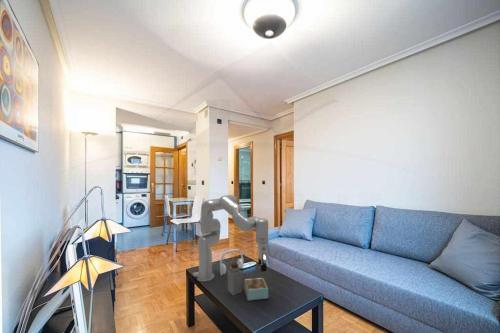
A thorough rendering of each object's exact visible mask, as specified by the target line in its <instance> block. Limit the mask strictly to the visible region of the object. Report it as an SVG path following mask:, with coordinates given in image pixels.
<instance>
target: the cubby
mask: <svg viewBox="0 0 500 333" xmlns="http://www.w3.org/2000/svg"><path fill="white" fill-rule="evenodd" d="M243 282H244V284H243V286H244V293H245V298H246V299H247V290H250V289H259V288H268V289H269V287H268V285H267V283H266V280H265V278H264V277H255V278H245V279H244V281H243Z"/></svg>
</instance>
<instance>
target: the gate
mask: <svg viewBox="0 0 500 333" xmlns="http://www.w3.org/2000/svg"><path fill="white" fill-rule="evenodd" d="M266 299H269V287H268V288H259V289H250V290H247V298H246V301H255V300H266Z"/></svg>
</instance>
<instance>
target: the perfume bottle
mask: <svg viewBox="0 0 500 333" xmlns="http://www.w3.org/2000/svg"><path fill="white" fill-rule="evenodd" d="M228 268H229V269H228V270H227V291H228V292H229V293H230V294H231V295H232V296H236V295H239V294H241V293H243V272H242V269H240V267H239V266H238V264H237V262H232V263H231V266H229V267H228Z"/></svg>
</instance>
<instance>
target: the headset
mask: <svg viewBox="0 0 500 333" xmlns="http://www.w3.org/2000/svg"><path fill="white" fill-rule="evenodd" d="M237 252H239V253H240V256H241V257H240V258H238V259H237V262H236V263H237V264H238V266H239V267H240V270H243V269H244V256H243V253H242V251H241V249H239V248H233V249H232V248H231V249H229V250H226V251H224V252H223V253H222V255H221V258H220V262H219V273H220V276H223V275H224V274H227V273H226V272H227V266H226V264H225V263H222V262H223V259H224V257H225V255H228V254H232V253H237ZM241 268H242V269H241Z"/></svg>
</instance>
